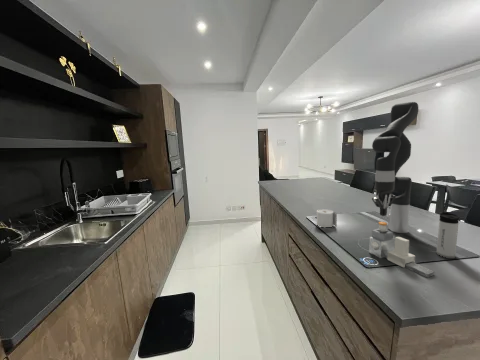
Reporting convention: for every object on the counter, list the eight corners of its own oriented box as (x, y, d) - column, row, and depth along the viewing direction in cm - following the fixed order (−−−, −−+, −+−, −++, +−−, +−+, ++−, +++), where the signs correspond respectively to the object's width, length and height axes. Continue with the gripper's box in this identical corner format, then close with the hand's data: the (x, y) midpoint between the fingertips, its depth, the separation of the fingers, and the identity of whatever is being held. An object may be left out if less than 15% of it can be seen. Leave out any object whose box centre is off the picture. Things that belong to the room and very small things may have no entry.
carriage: (387, 259, 96) (388, 237, 94) (398, 256, 98) (399, 234, 96) (403, 267, 89) (405, 243, 87) (414, 263, 91) (416, 240, 89)
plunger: (376, 231, 101) (376, 222, 101) (381, 230, 102) (381, 221, 102) (383, 233, 98) (383, 224, 97) (388, 232, 99) (388, 223, 98)
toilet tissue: (316, 222, 148) (315, 209, 146) (334, 223, 144) (334, 209, 143) (317, 228, 138) (317, 213, 136) (336, 229, 134) (337, 214, 133)
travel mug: (449, 252, 99) (453, 212, 96) (458, 259, 93) (462, 216, 90) (433, 250, 101) (436, 211, 98) (441, 257, 95) (444, 216, 92)
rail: (384, 257, 98) (384, 254, 98) (390, 255, 100) (390, 252, 99) (427, 277, 82) (427, 274, 82) (434, 275, 83) (434, 271, 83)
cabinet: (368, 252, 103) (369, 230, 101) (382, 248, 106) (383, 227, 104) (380, 258, 98) (380, 235, 96) (394, 254, 100) (395, 231, 99)
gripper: (386, 177, 102) (385, 211, 105) (366, 180, 98) (365, 215, 101) (403, 179, 95) (401, 215, 98) (382, 182, 91) (380, 220, 93)
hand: (383, 215), depth 99 cm, fingers closed
